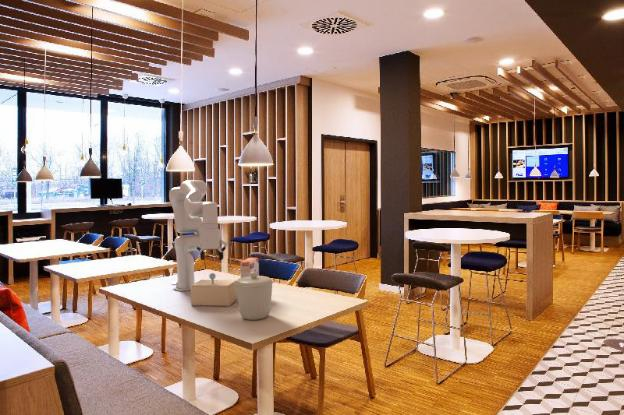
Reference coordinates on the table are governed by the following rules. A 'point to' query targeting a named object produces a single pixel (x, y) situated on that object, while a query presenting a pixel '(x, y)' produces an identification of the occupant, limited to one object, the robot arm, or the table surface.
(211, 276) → the near flap
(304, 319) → the table surface
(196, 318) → the table surface
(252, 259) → the cracker box
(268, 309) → the canister
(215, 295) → the carton
